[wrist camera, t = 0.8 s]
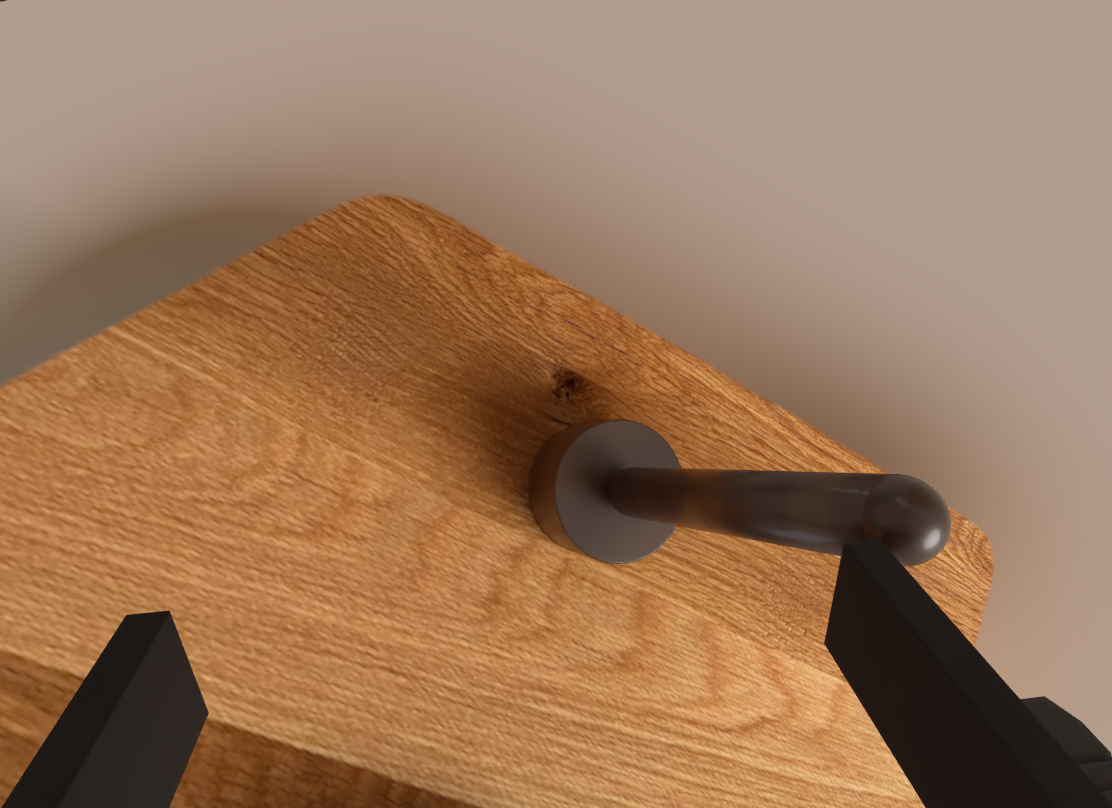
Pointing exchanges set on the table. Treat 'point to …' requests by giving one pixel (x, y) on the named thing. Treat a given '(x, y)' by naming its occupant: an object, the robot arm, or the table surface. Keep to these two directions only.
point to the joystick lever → (717, 500)
